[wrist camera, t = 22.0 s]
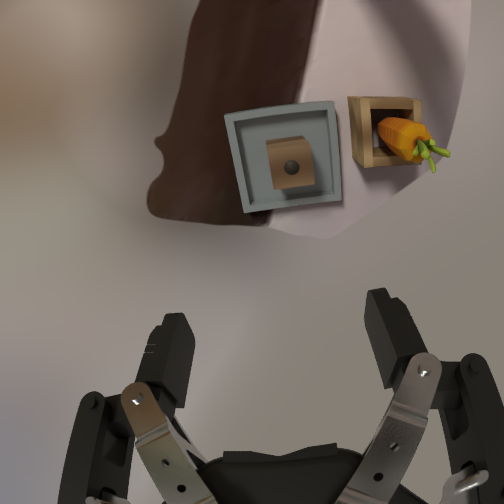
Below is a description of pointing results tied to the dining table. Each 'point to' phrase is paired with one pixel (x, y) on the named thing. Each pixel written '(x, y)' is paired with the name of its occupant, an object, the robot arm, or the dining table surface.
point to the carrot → (409, 140)
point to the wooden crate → (363, 129)
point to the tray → (281, 126)
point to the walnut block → (290, 162)
